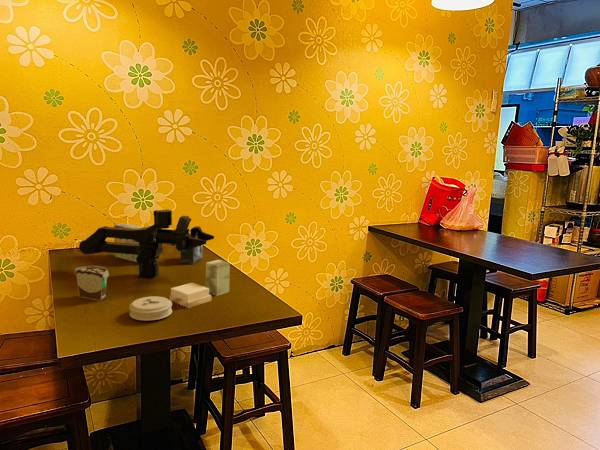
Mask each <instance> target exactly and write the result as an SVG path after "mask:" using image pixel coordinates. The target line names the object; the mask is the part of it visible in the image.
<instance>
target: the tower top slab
mask: <svg viewBox="0 0 600 450" xmlns="http://www.w3.org/2000/svg"><path fill="white" fill-rule="evenodd" d="M170 295H172V296H174V297H177V298H179V299H182V300H184V301H187V302H189V301H193V300H196V299H199V298H202V297H206V296H209V295H210V293H209V288H207V287H206V286H204V285H200V284H197V283H195V282H189V283H185V284H182V285H178V286H174V287H171V288H170Z"/></svg>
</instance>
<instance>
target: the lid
mask: <svg viewBox="0 0 600 450" xmlns="http://www.w3.org/2000/svg"><path fill="white" fill-rule="evenodd" d="M172 307H173V302H172V301H170V300H169V299H168V298H167V297H163V296H156V295H154V296H153V295H151V296H144V297H141V298H137V299H135V300H134V301H132V302H131V303H130V304H129V310H130V311H129V316H130V317H131V318H132V319H134V320H137V321H146V322H147V321H156V320H160V319H161V320H162V319H165V318H166V317H169V316H170V315H172V314H173V309H172Z"/></svg>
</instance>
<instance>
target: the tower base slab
mask: <svg viewBox="0 0 600 450" xmlns="http://www.w3.org/2000/svg"><path fill="white" fill-rule="evenodd" d="M212 295H213V294H209V296H206V297H202V298H199V299H196V300H193V301H189V302H187V301H184V300H182V299H179V298H177V297H174V296H172V295H171V294H169V297H168V298H169V299H168V300H170V301H171V302H172V301H173V302H172V303H174V302H175V304H177V303H178V304H177V305H179V304H180V306H182V305H183V306H182V307H184V306H185V307H184V308H187V309H190V308H192V307H195V306H199V305H201V304H205V303H208V302H211V301H212V297H213V296H212Z"/></svg>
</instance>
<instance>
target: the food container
mask: <svg viewBox="0 0 600 450" xmlns="http://www.w3.org/2000/svg"><path fill="white" fill-rule="evenodd" d="M74 275H76V282H77V285H76V286H77V291H78V298H84V299H86V300H87V299H88V300H94V301H97V302H102V301H104V300H105V299H106V295H107V281H108V277H109V276H110V273H109V271H108V268H107V267H105V266H102V265H100V266H99V265H86V266H79V267H75V270H74Z"/></svg>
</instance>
